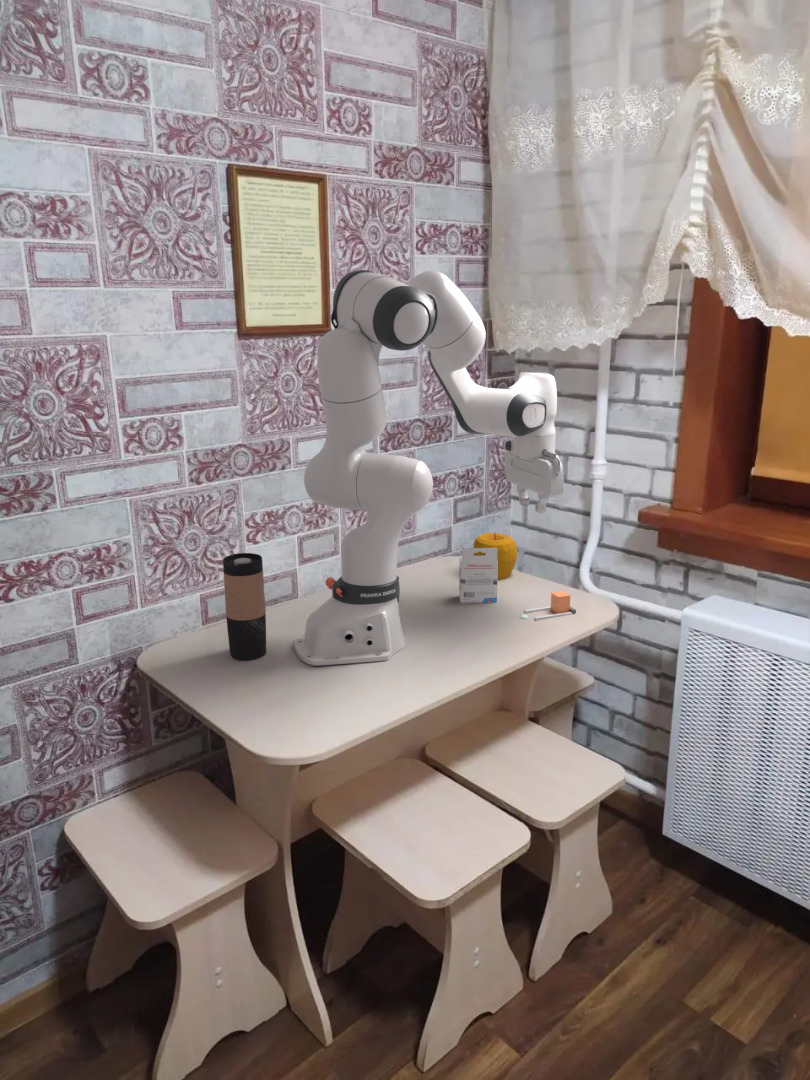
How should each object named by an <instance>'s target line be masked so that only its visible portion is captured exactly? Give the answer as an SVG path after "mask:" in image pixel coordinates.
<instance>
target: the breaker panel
mask: <svg viewBox="0 0 810 1080" xmlns="http://www.w3.org/2000/svg"><path fill="white" fill-rule="evenodd" d="M546 610H551V605H550V606H544V607H537V608H529V609H524V610H523V612H524V613H525V614H521V615H520V616H519V618H520V619H528V617H529V616H528V615H527V614H530V613H535V612H536V613H537V612H541V611H546ZM576 614H577V609H575V608H574V607H572V606H570V612H566V613H559V614H556V613H553V614H546V615H539V616H534V617H533V619H534V620H535V621H541V620H546V619H547V620H548V619H553V618H557V617H563V616H569V615H576Z"/></svg>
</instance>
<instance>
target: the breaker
mask: <svg viewBox="0 0 810 1080" xmlns="http://www.w3.org/2000/svg"><path fill="white" fill-rule="evenodd" d="M550 596H551V597H550V598H551V599H550V606H551V609H550V611H552V612H554V614H559V613H566V612H570V607H571V595H570V594H568V593H567V592H565V591H563V590H560V591H556V592H554V591H553V592H551V593H550Z"/></svg>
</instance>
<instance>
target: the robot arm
mask: <svg viewBox="0 0 810 1080" xmlns="http://www.w3.org/2000/svg"><path fill="white" fill-rule="evenodd" d="M465 295H466V294H465ZM465 295H464V293H463V292H462V290H461V289H460V288H459V287H458V286H457V285H456V284H455V282H453V280H452V279H450V278H449V277H448V276H447V275H445V274H444V273H443V272H440V271H438V270H427V271H423V272H421V273H419V274H417V275H416V276H415V277H413V278H412V279H410V281H409V282H408V283H407V284H406V283H404V282H401V281H398V280H397V279H395V278H394V277H392V276H388V275H385V274H382V273H376V272H375V271H372V270H367V269H363V270H362V269H359V270H355V271H353V270H352V271H351V272H348V273H346V274H344V276H342V278H340V280H339V281H338V283H337V284H336V287H335V290H334V294H333V299H332V312H331V315H330V321H331V324H332V326H333V328H334V329H332V330H330V331H328V332H327V333H325V334H324V335H323V336H321V338H320V340H319V341H318V345H317V353H316V354H317V356H316V357H317V359H316V360H317V361H316V362H317V363H316V364H317V378H318V385H319V392H320V397H321V402H322V407H323V412H324V420H325V428H326V433H325V434H326V436H325V441H324V444H323V446H322V448H321V450H320V451H319V452H318V453H317V454H315V456H313V457H312V458H311V459H310V461H309V462H308V464H307V466H306V468H305V471H304V475H303V481H304V488H305V491H306V494H307V495H308V497H309V498H310V499H311V500H312V502H315V503H318V504H321V505H323V506H328V507H331V508H334V509H346V510H358V511H365V512H366V521H365V524H361V525H359V526H357V527H356V528H354V529H351V530H350V531H348V533H346V535H345V536H344V537H343V539H342V540H341V544H340V557H341V558H340V564H341V566H340V568H341V576H340V577H339V578H338V579H337V580H335V578H334V577H330V576H329V577H327V578H326V580H325V585H326V586H327V588H328V589H330V590H331V593H332V596H331V597H330V598H329V599H328V600H326V601H324V603H322V604H321V605H320V606H319V607H318V608H316V609H315V610H314V611H312V612H311V613H310V614H309V616H307V619H306V623H305V627H304V628H305V629H304V634H302V635H298V636H296V638H295V640H294V641H293V642H294V643H293V649H294V653H295V654H296V655H297V657H298V658H299V659H300V660H301V661H303V662H304V663H306V664H308V665H310V666H330V665H331V666H332V665H342V664H343V665H345V664H359V663H372V662H384V661H385V662H386V661H388V660H389V661H390V659H392V657H393V655H394V654H395V653H397V652H399V651H400V650H402V649H403V648H404V647H405V645H406V639H405V635H404V633H403V628H402V624H401V618H400V611H399V603H400V595H401V588H400V577H399V576H398V572H397V571H398V551H399V540H400V537H401V534H402V531H403V529H404V528H405V526H406V524H407V523H408V522H409V520H410V519H411V518H412V517H413V516H414V515H415V514H417V513H418V512H420V511H421V510H422V509H423V508H425V506H426V505H427V504H428V502H429V501H430V499H431V497H432V494H433V491H434V479H433V476H432V473H431V470H430V469H429V466H427V464H426V463H425V462H424V461H423V460H420V459H415V458H413V457H410V456H409V457H408V456H404V455H401V454H400V455H399V454H381V453H380V454H379V453H369V452H367V451H366V450H365V446H366V445H368V444H370V443H372V442H374V441H375V440H377V439H378V438H379V437H380V436H381V435H382V434H383V433H384V431H385V429H386V426H387V422H388V417H387V412H386V411H387V410H386V403H385V398H384V397H385V396H384V391H383V384H382V379H381V375H380V370H379V366H380V365H379V360H380V354H381V351H382V348H383V347H385V348H387V349H389V350H393V351H398V352H399V351H402V352H403V351H410V350H413V349H415V348H417V347H418V346H420V345H421V344H424V345H425V347H426V348H427V349H428V353H427V356H428V358H427V359H428V361H429V364H430V368H431V369H432V371H433V373H434V375H435V377H436V378H437V380H438V381H439V383H440V385H441V387H442V389H443V391H444V393H445V394H446V396H447V398H448V399H449V401H450V403H451V405H452V408H453V411H454V414H455V417H456V421H457V422H458V425H459V426H460V427H461V429H462V430H463V431H465V432H466V433H468V434H478V435H479V434H482V435H483V434H485V435H495V436H504V437H511V438H509V439H507V440H505V441H504V443H503V450H505V451H506V452H505V454H504V475H505V479H506V481H507V482H508V483H509V482H510V483H512V484H514V485H516V490H517V491H516V492H517V494H518V497H519V498H518V499H519V501H518V502H519V505H520V506H523V507H527V506H529V505H530V497H529V496H528V495H529V493H528V490H529V491H532V492H533V493H537V498H538V501H537V503H535V506H534V507H535V509H534V510H535V512H537V513H538V514H545V513H546V511H547V509H546V508H547V504H548V503H549V501H550V498H554V497H556V498H557V497H558V498H559V497H561V496H562V495H563V494H564V489H565V488H564V487H565V486H564V485H565V483H564V466H563V463H562V462H561V459H560V457H559V455H558V454H557V452H556V436H557V435H556V433H557V432H556V431H557V430H556V428H555V420H556V417H557V411H558V390H557V382H556V379H555V378H556V377H555V376H553V375H552V374H551V373H549V372H545V371H544V372H543V371H537V370H524V371H521V372H520V373H519V376H518V379H517V380H516V382H515V383H514V384H512V385H511V386H509V387H508V388H495V387H487V386H482V385H480V384H477V383H475V382H474V381H473V379H472V378H471V376H470V374H469V372H468V370H467V367H468V366H469V365H471V364H472V363H473V362H475V360H476V359H477V358H478V357H479V356H480V354H481V352H482V350H483V348H484V346H485V343H486V336H487V333H486V332H487V331H486V329H485V325H484V323H483V321H482V319H481V317H480V315H479V314H478V312H477V311H476V309H475V308H474V305H472V304H471V302H470V300H468V298H467V296H465ZM335 323H336V324H335Z"/></svg>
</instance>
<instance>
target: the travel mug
mask: <svg viewBox="0 0 810 1080" xmlns="http://www.w3.org/2000/svg"><path fill="white" fill-rule="evenodd" d="M222 567H223V568H222V570H223V584H224V602H225V603H224V604H225V616H226V617H225V619H226V627H227V637H228V639H227V640H228V647H229V655H230V658H231V659H233V660H235V661H238V662H239V661H240V662H248V661H255V660H259V659H260V658H263V657H264V656H265V655H266V654H267V622H266V621H267V614H266V612H267V610H266V598H265V582H264V581H265V580H264V568H263V557H262V556H261V555H260V554H257V553H254V552H253V553H252V552H246V553H245V552H240V553H233V554H231V555H230V554H229V555H226V556H225V557H224V558H223V559H222Z"/></svg>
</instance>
